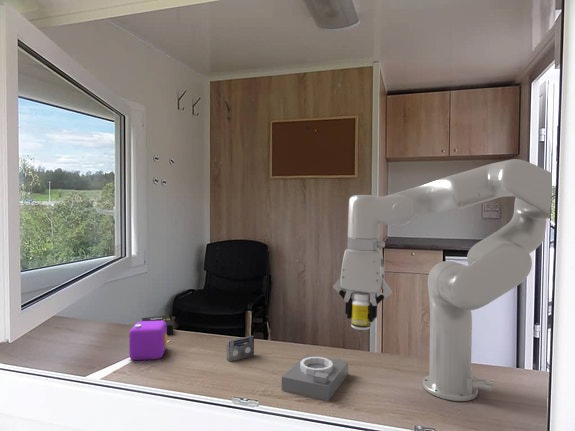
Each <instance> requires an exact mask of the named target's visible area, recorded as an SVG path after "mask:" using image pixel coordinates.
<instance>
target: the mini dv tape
mask: <svg viewBox="0 0 575 431" xmlns="http://www.w3.org/2000/svg"><path fill="white" fill-rule="evenodd" d="M250 357H255V336H254V335H248V336H244V337H239V338H235V339H229V340H226V361H227V362H234V361H238V360H241V359H246V358H250Z"/></svg>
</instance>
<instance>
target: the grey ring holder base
mask: <svg viewBox="0 0 575 431" xmlns="http://www.w3.org/2000/svg"><path fill="white" fill-rule="evenodd" d="M348 375H349V361H346V360H340V359H337V358H336V359H335V358H330V357H324V356H319V355H314V354H309V353H308V354H305V355H304V356H303V357H302V358H301V359H300V360H299V361H297V363H295V364H294V365H292V367H291V368H289V369H288V371H287V372H285V373H283V375H282V376H281V391H282V390H283V391H282V392H286V391H287V393H290V392H291V393H290V394H295V395H300V396H304V397H307V398H308V397H309V398H312V399H317V400H320V401H324V402H329V400H331V398H332V397H333V396H334V394H335V393H336V392H337V390H339V388H340V386H341V385H342V383H343V382H344V381H345V379H346V378H347V377H348Z"/></svg>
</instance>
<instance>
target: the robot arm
mask: <svg viewBox="0 0 575 431" xmlns="http://www.w3.org/2000/svg"><path fill="white" fill-rule="evenodd" d="M552 173H553V172H551V171H549V170H547V169H545V168H542V167H540V166H538V165H536V164H534V163H531V162H530V161H526V160H523V159H519V158H518V159H517V158H515V159H514V158H512V159H507V160H503V161H497V162H493V163H489V164H486V165H485V164H484V165H482V166H478V167H476V168H472V169H468V170H465V171H461V172H459V173H455V174H451V175H448V176H445V177H442V178H438V179H436V180H433V181H431V182H427V183H425V184H421V185H418V186H415V187H412V188H407V189H405V190H402V191H398V192H394V193H391V194H387V195H382V196H381V195H380V196H379V195H378V196H377V195H373V194H372V195H371V194H353V195H352V196H350V197H349V199H348V216H347V217H348V221H347V223H348V224H347V248H346V249H345V250H344V253H343V257H342V264H341V269H340V270H341V272H340V277H339V278H338V279H337V281H336V282H334V284H333V285H332V287H333V289H334V290H335V291H336V292H337V293H338V294H339V295H340V297H341V299H343V301H344V303H345V314H346V319H348V320H350V319H351V315H352V301H353V300H354V299H353V297H354V292H364V293H369V294H370V302H371V305H370V306H369V321H370V322H371V323H373V322H374V320H376V319H377V318H378V304H380V303H381V302H382V301H383V300H384V299H386V298H388V297H390V296H391V295H392V294H393V290H392V289H391V287H390V286H389V285H388V283H387V282H386V281H385V264H384V262H385V261H384V256H383V252H382V251H381V250H380V249H381V248H385V246H386V242H385V241H382V240H381V239H380V225H387V226H388V225H389V226H395V227H402V226H405V225H408V224H409V223H411V222H412V221H413V219H414V218H415V217H419V216H423V215H427V214H434V213H435V214H436V213H448V212H453V211H458V210H459V211H460V210H462V209H465V208H469V207H471V206H474V205H478V204H481V203H485V202H489V201H493V200H495V199H499V198H504V197H514V198H515V199H514V203H513V204H514V207H513V215H512V217H511V219H510V221H509V222H508V223H507V224H505V225H504V226H502V227H501V228H500V229H499V230H496V231H495V232H493V233H491V234H490V235H488V236H487V237H485V238H484V239H482V240H480V241H478V242H476V243H475V244H474V245H473V246H471V248H470V249H469V250H468V251H467V255H466V257H467V258H466V261H467V265H465V264H462V263H459V262H457V261H453V260H452V261H451V260H444V261H441V262H438V263H436V264H435V265H434V266H433V267H432V268H431V269H430V271H429V273H428V277H427V290H428V298H429V299H428V300H429V313H430V314H429V317H430V318H429V364H428V365H429V371H428V372H429V374H428V375H426V376H424V377H423V379H422V387H423V389H424V390H426V392H428V393H429V394H431V395H433V396H435V397H437V398H440V399H443V400H447V401H454V402H467V401H472V400H474V399H476V398H477V397H478V394H479V390H483V391H485V392H493V383H492V382H487V379H486V378H481V377H480V378H479V377H476V375H473V370H472V342H473V340H472V339H473V338H472V337H473V336H472V335H473V332H472V331H473V317H472V311H474V310H479V309H481V308H483V307H485V306H487V305H489V304H490V303H492V302H493V301H496V300H497V299H498V298H500V297H502V296H504V295H505V294H506V293H508V292H510V291H512V290H513V289H514V288H516V287H517V286H519V285H521V284H523V282H525V280H526V279H527V278H528V276H529V274H530V273H531V271H532V266H533V260H532V257H531V256H532V255H531V253H532V252H534V251H535V250H536V249H538V248H539V247H540V246H541V245H542V243H543V242H544V239H545V235H546V230H547V219H548V220H549V219H550V206H551V197H552ZM382 290H383V292H382V293H381V294H379V293H380V292H381V291H382Z"/></svg>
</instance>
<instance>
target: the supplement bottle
mask: <svg viewBox="0 0 575 431" xmlns="http://www.w3.org/2000/svg"><path fill="white" fill-rule="evenodd" d="M352 300H353V301H352V315H351V318H350V319H351V320H350V321H351V322H350V324H351V325H350V326H351V328H353V329H354V330H358V331H361V330H362V331H364V330H365V331H368V330H369V329H371V327H372V326H371V324H372V322H370V321H369V306H370V305H371V298H370V294H369V293H364V292H356V291H354V292H353V296H352Z"/></svg>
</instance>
